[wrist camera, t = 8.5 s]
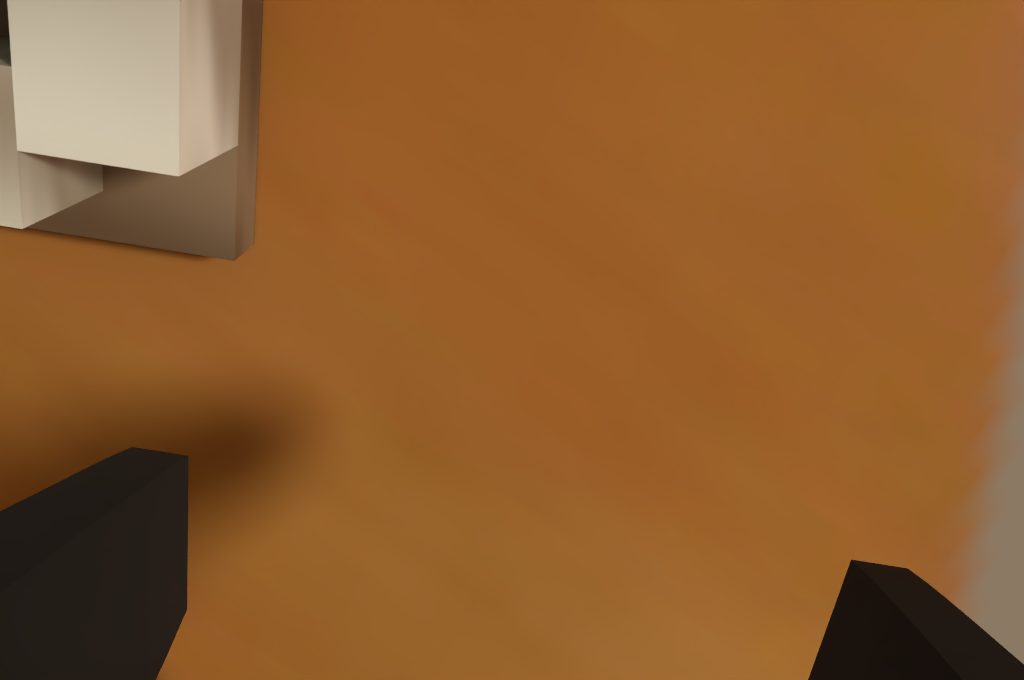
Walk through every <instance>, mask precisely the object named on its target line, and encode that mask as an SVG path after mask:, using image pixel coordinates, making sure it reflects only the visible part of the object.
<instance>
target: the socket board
mask: <svg viewBox="0 0 1024 680" xmlns="http://www.w3.org/2000/svg"><path fill="white" fill-rule="evenodd" d="M262 17H263V0H0V226H6V227H13V228H19V229H23V228H32V229H38V230H44V231H51V232H57V233H63V234H70V235H76V236H82V237H88V238H95V239H101V240H107V241H114V242H120V243H126V244H133V245H139V246H145V247H151V248H158V249H164V250H170V251H177V252H183V253H189V254H195V255H202V256H208V257H214V258H221V259H227V260H233V261H235V260H236V259H237V258H238V257H239V256H240V255H242V254H243V253H244V252H245V251H246V250H247V249H248V248H250V247H251V246H252V245H253V244H254V225H255V199H256V173H257V147H258V121H259V95H260V69H261V43H262Z"/></svg>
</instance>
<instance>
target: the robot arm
mask: <svg viewBox="0 0 1024 680" xmlns="http://www.w3.org/2000/svg"><path fill="white" fill-rule="evenodd" d="M187 550H188V456H185V455H178V454H172V453H166V452H159V451H153V450H147V449H140V448H134V447H132V448H129V449H127V450H125V451H122V452H120V453H117V454H115V455H113V456H111V457H109V458H106V459H104V460H102V461H100V462H98V463H96V464H94V465H92V466H90V467H88V468H86V469H84V470H82V471H80V472H78V473H76V474H74V475H72V476H70V477H68V478H66V479H64V480H62V481H60V482H58V483H56V484H54V485H52V486H50V487H48V488H46V489H44V490H42V491H40V492H38V493H36V494H34V495H32V496H30V497H28V498H26V499H24V500H22V501H20V502H18V503H16V504H14V505H12V506H10V507H8V508H6V509H4V510H2V511H0V680H156V678H157V676H158V673H159V671H160V669H161V667H162V665H163V663H164V661H165V658H166V656H167V654H168V652H169V649H170V647H171V645H172V642H173V640H174V638H175V636H176V633H177V631H178V629H179V626H180V624H181V622H182V619H183V617H184V615H185V613H186V610H187ZM808 680H1024V664H1022V663H1021V662H1020V661H1019V660H1018V659H1017V658H1015V657H1014V656H1013V655H1012V654H1011V653H1010V652H1008V651H1007V650H1006V649H1005V648H1004V647H1003V646H1002V645H1000V644H999V643H998V642H997V641H996V640H995V639H993V638H992V637H991V636H990V635H989V634H988V633H986V632H985V631H984V630H983V629H981V627H979V626H978V625H977V624H976V623H975V622H974V621H972V620H971V619H970V618H969V617H968V616H967V615H965V614H964V613H963V612H962V611H961V610H959V609H958V608H957V607H956V606H955V605H954V604H952V603H951V602H950V601H949V600H948V599H946V598H945V597H944V596H943V595H941V594H940V593H939V592H938V591H937V590H935V589H934V588H933V587H932V586H930V585H929V584H928V583H926V582H925V581H924V580H922V579H921V578H920V577H918V576H917V575H916V574H914V573H913V572H912V571H910V570H909V569H907V568H901V567H894V566H888V565H882V564H875V563H869V562H862V561H856V560H851V562H850V565H849V568H848V570H847V573H846V576H845V579H844V582H843V584H842V587H841V590H840V593H839V596H838V598H837V601H836V604H835V607H834V609H833V612H832V615H831V618H830V621H829V623H828V626H827V629H826V632H825V635H824V637H823V640H822V643H821V646H820V648H819V651H818V654H817V657H816V660H815V662H814V665H813V668H812V671H811V674H810V676H809V679H808Z"/></svg>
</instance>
